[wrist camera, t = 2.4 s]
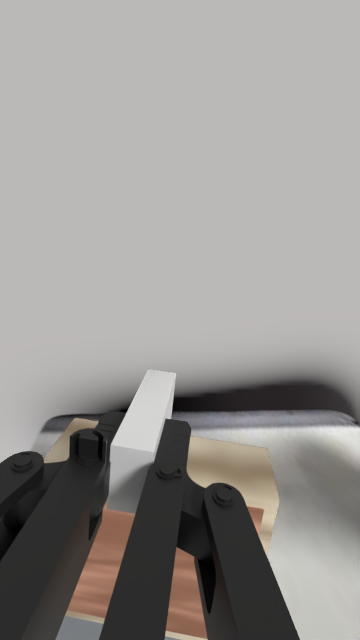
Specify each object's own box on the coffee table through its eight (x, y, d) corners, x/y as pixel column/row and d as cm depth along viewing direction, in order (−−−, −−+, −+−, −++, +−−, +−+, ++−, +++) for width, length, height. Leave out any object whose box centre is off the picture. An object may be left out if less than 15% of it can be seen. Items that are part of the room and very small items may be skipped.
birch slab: (244, 655, 28) (280, 502, 24) (41, 613, 29) (41, 461, 25) (239, 580, 34) (267, 448, 30) (71, 549, 35) (74, 417, 31)
